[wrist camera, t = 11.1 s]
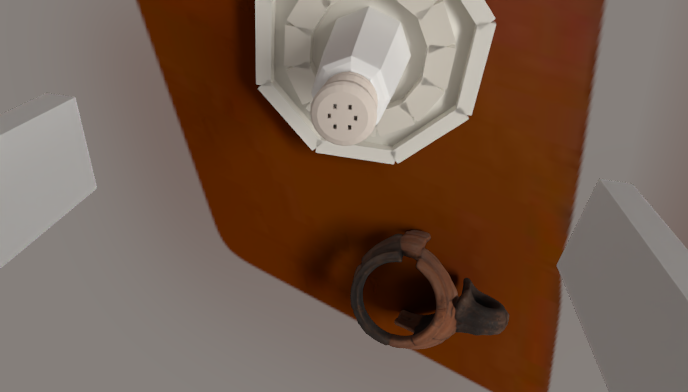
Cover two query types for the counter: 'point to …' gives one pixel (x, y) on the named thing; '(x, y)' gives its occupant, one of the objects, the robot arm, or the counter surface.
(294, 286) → the counter surface
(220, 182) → the counter surface
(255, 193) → the counter surface
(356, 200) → the counter surface
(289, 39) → the dish
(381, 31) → the pepper shaker
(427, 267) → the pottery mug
